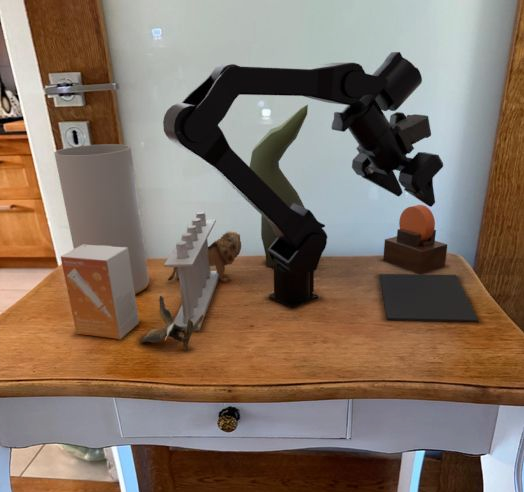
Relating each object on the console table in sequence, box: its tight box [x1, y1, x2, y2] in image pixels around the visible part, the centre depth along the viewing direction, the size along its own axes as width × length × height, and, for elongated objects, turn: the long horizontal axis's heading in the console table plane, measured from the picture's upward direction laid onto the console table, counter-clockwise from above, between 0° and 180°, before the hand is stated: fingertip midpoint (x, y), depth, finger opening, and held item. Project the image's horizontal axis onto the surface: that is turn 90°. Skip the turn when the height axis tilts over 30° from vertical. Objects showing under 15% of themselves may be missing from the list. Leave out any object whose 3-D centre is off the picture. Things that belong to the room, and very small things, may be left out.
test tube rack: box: [163, 211, 220, 332], centre depth 95 cm, size 25×4×13 cm, turn 176°
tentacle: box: [249, 104, 309, 268], centre depth 107 cm, size 9×12×30 cm
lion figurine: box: [167, 230, 242, 283], centre depth 105 cm, size 15×5×9 cm, turn 101°
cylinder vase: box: [53, 143, 150, 295], centre depth 99 cm, size 12×12×25 cm
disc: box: [398, 204, 436, 242], centre depth 107 cm, size 2×7×7 cm, turn 33°
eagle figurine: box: [140, 295, 203, 351], centre depth 83 cm, size 8×7×9 cm
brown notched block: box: [382, 228, 448, 275], centre depth 110 cm, size 7×10×7 cm
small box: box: [60, 245, 140, 340], centre depth 86 cm, size 8×6×13 cm
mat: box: [379, 273, 479, 323], centre depth 96 cm, size 20×14×1 cm
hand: (415, 199), depth 99 cm, fingers open, 9 cm apart
